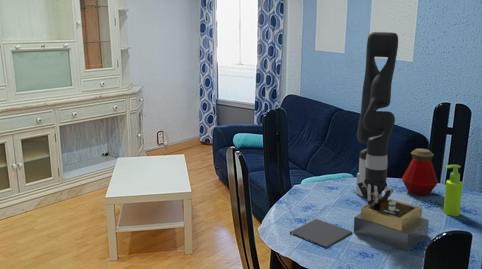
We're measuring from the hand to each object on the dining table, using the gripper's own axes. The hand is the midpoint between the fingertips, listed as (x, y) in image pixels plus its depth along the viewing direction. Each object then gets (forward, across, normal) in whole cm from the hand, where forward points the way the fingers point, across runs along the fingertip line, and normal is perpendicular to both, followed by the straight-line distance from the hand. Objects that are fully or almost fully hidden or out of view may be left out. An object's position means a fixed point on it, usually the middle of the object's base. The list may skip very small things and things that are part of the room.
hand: (373, 210), depth 154 cm
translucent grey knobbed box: (+7, +7, 0) cm, 10 cm away
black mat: (+7, -11, -17) cm, 22 cm away
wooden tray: (+1, +7, 0) cm, 7 cm away
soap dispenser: (+7, +15, +34) cm, 38 cm away
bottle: (+7, -4, +48) cm, 49 cm away
